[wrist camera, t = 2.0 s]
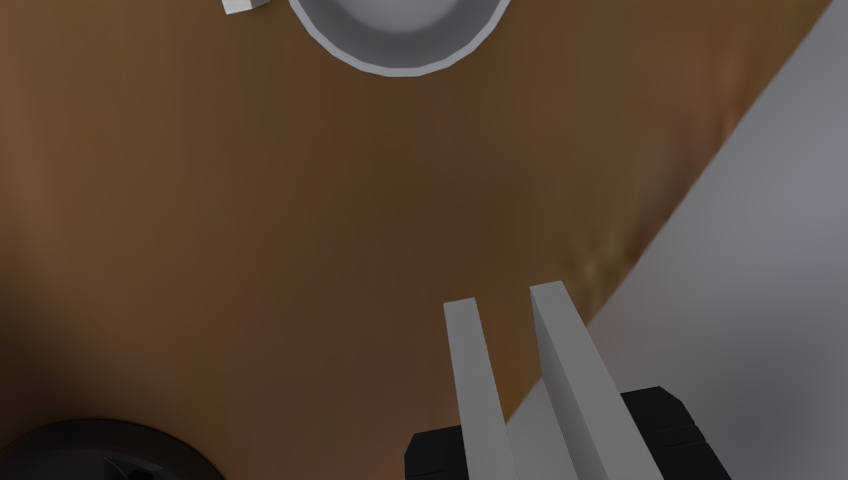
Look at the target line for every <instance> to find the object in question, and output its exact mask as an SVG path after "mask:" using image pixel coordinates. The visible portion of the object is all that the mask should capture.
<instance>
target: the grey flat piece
mask: <svg viewBox="0 0 848 480" xmlns="http://www.w3.org/2000/svg"><path fill="white" fill-rule="evenodd" d="M270 1H271V0H222V2H223V5H224V8H225V11H226V15H227V14H231V13H236V12H240V11H245V10H250V9H253V8H256V7H258V6H260V5H263V4H265V3H267V2H270Z"/></svg>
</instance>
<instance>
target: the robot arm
mask: <svg viewBox="0 0 848 480" xmlns="http://www.w3.org/2000/svg"><path fill="white" fill-rule="evenodd" d="M530 293H531V300H532V307H533V314H534V321H535V329H536V336H537V343H538V350H539V357H540V364H541V371H542V378H543V380H544V383H545V386H546V389H547V391H548V395H549V397H550V400H551V403H552V406H553V409H554V411H555V414H556V417H557V420H558V423H559V425H560V428H561V431H562V434H563V437H564V439H565V442H566V445H567V448H568V451H569V453H570V456H571V459H572V462H573V465H574V467H575V470H576V473H577V476H578V479H579V480H732V479H731V478H730V476H729V475H728V473H727V472H726V470H725V469H724V467H723V465H722V464H721V462H720V461H719V459H718V458H717V456H716V455H715V453H714V451H713V450H712V448H711V447H710V445H709V444H708V443H706V440H705V438H704V436H703V434H702V433H701V431H700V430H699V428H698V427H697V426H695V422H694V420H693V419H692V418H691V416H690V414H689V413H688V411H687V410H686V408H685V407H684V405H683V403H682V402H681V401H680V400H678V399H677V398H676V397H674V396H673V395H671V394H670V393H668V392H667V391H666V390H664V389H663V388H661V387H660V386H658V387H652V388H646V389H641V390H636V391H631V392H625V393H619V391H618V390H617V388H616V386H615V384H614V382H613V380H612V378H611V376H610V374H609V372H608V370H607V369H606V366H605V364H604V362H603V360H602V359H601V357H600V355H599V353H598V351H597V349H596V347H595V345H594V343H593V341H592V339H591V337H590V335H589V334H588V331H587V329H586V328H585V326H584V324H583V322H582V320H581V318H580V316H579V314H578V312H577V310H576V308H575V306H574V304H573V302H572V300H571V298H570V297H569V295H568V293H567V291H566V289H565V287H564V285H563V283H562V281H556V282H550V283H545V284H540V285H535V286H530ZM443 305H444V312H445V319H446V325H447V332H448V339H449V346H450V352H451V359H452V366H453V372H454V379H455V386H456V393H457V399H458V406H459V413H460V419H461V425H458V426H453V427H447V428H442V429H437V430H431V431H426V432H421V433H415V434H414V435H413V437H412V439H411V442H410V444H409V446H408V448H407V450H406V453H405V455H404V457H405V480H518V475H517V471H516V467H515V463H514V459H513V455H512V451H511V446H510V442H509V438H508V434H507V430H506V426H505V422H504V417H503V413H502V409H501V405H500V401H499V397H498V393H497V388H496V384H495V380H494V376H493V372H492V368H491V364H490V359H489V355H488V351H487V347H486V343H485V339H484V335H483V330H482V326H481V322H480V318H479V314H478V310H477V306H476V301H475V297H474V298H469V299H464V300H458V301H453V302H448V303H443ZM0 480H223V479H222V478H221V477H220V475H219V474H218V473H217V472H216V471H215V469H214V468H213V467H212V466H211V465H210V464H209V463H208V462H207V461H206V460H204V459H203V458H202V457H201V456H200V455H198V454H197V453H196V452H194V451H193V450H191V449H190V448H188V447H187V446H185V445H184V444H182V443H180V442H178V441H177V440H174V439H172V438H170V437H168V436H166V435H164V434H161V433H159V432H156V431H153V430H151V429H147V428H144V427H141V426H137V425H133V424H128V423H123V422H116V421H107V420H76V421H67V422H61V423H56V424H52V425H48V426H45V427H42V428H39V429H36V430H34V431H32V432H29V433H27V434H25V435H24V436H22V437H20V438H18V439H17V440H15V441H14V442H12V443H11V444H10V445H9V446H8V447H6V448H5V449H4V450H3V451H2V452H1V453H0Z"/></svg>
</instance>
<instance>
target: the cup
mask: <svg viewBox="0 0 848 480" xmlns="http://www.w3.org/2000/svg"><path fill="white" fill-rule="evenodd" d="M289 2H290V5H291V7H292V8H293V10H294V11H295V13H296V14H297V16H298V17H299V19H300V20H301V22H302V23H303V25H304V26H305V28H306V30H307V31H308V33H309V34H310V35H311V36H312V37H313V38H314V39H316V40H317V41H318V42H319V43H320V44H321V45H322V46H323V47H324V48H325V49H326V50H328V51H329V52H330V53H331V54H332V55H333V56H335V57H337V58H339V59H340V60H342V61H344V62H346V63H348V64H350V65H352V66H353V67H355V68H357V69H359V70H362V71H366V72H370V73H374V74H379V75H383V76H387V77H406V76H421V75H424V74H427V73H431V72H434V71H437V70H440V69H443V68H447V67H449V66H450V65H452V64H453V63H455V62H457V61H458V60H460V59H461V58H463V57H465V56H466V55H468V54H469V53H471V52H473V51H474V50H475V49H476V48H477V47H478V45H479V44H480V43H481V42H482V41H483V40H484V39H485V38H486V37H487V36H488V35H489V34H490V33H491V32H492V31H493V29H494V28H495V27H496V25H497V23H498V21H499V20H500V18H501V16H502V14H503V13H504V11H505V9H506V7H507V5H508V4H509V2H510V0H289Z"/></svg>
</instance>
